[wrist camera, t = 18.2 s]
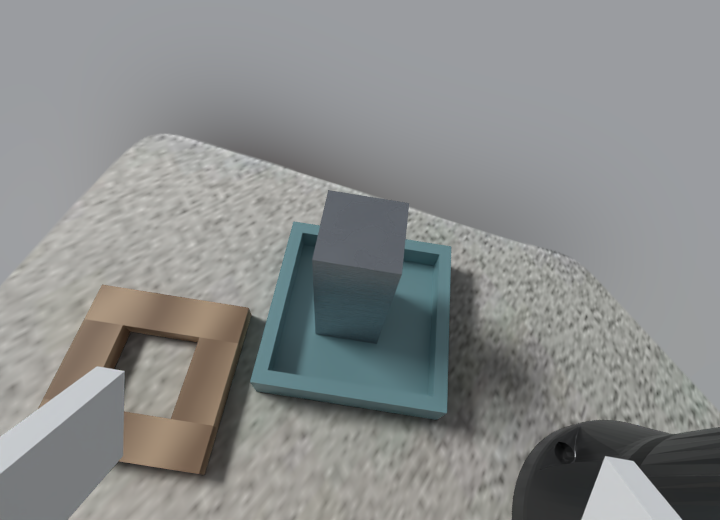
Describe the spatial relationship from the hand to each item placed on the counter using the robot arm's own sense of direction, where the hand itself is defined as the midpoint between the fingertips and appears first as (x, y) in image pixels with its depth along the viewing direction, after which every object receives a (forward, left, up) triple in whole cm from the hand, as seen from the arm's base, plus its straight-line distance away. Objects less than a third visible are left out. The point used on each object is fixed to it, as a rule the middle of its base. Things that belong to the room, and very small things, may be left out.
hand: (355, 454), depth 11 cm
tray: (0, -12, -20) cm, 24 cm away
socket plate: (+15, -5, -20) cm, 26 cm away
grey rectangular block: (+1, -12, -19) cm, 23 cm away
